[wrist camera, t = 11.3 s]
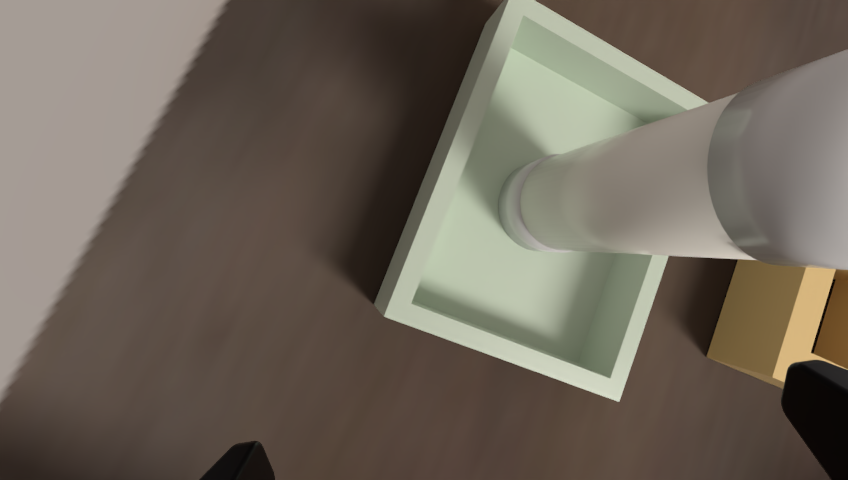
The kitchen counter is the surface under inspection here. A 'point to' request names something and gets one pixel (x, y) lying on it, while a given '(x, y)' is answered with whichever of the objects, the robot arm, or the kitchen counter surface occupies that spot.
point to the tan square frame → (781, 319)
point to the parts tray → (479, 218)
